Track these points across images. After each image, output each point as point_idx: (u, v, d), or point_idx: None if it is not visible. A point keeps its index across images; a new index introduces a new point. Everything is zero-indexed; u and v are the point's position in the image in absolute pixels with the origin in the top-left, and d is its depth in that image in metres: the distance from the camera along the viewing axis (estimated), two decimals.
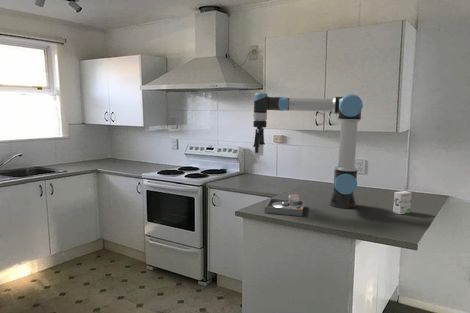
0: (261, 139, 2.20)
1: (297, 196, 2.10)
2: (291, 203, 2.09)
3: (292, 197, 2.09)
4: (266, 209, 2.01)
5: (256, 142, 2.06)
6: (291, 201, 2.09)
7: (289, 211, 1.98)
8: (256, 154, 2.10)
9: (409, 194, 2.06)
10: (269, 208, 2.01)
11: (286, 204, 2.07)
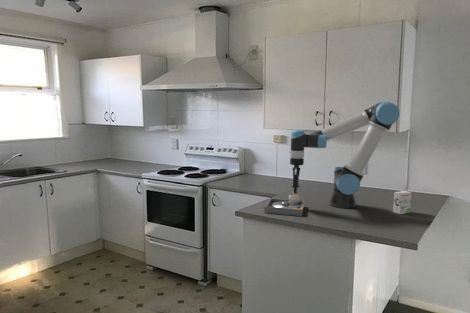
0: None
1: (297, 196, 2.10)
2: (291, 203, 2.09)
3: (292, 197, 2.09)
4: (266, 209, 2.01)
5: (295, 184, 2.08)
6: (291, 201, 2.09)
7: (289, 211, 1.98)
8: (294, 194, 2.12)
9: (409, 194, 2.06)
10: (269, 208, 2.01)
11: (286, 204, 2.07)
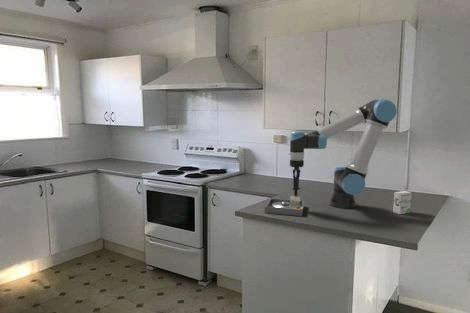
0: None
1: (298, 198, 2.06)
2: (291, 204, 2.07)
3: (292, 198, 2.07)
4: (266, 209, 2.01)
5: (295, 186, 2.04)
6: (291, 202, 2.07)
7: (289, 211, 1.98)
8: None
9: (409, 194, 2.06)
10: (269, 208, 2.01)
11: (284, 204, 2.07)
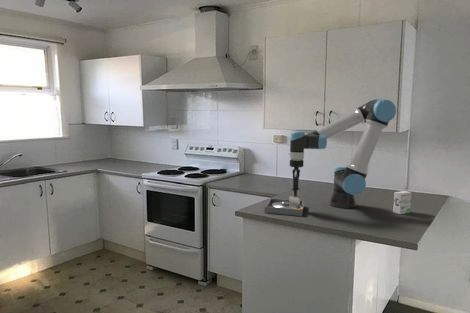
0: None
1: (297, 199, 2.04)
2: (290, 204, 2.06)
3: (291, 198, 2.06)
4: (266, 209, 2.01)
5: (295, 187, 2.03)
6: (290, 202, 2.06)
7: (289, 211, 1.98)
8: None
9: (409, 194, 2.06)
10: (269, 208, 2.01)
11: (283, 204, 2.07)
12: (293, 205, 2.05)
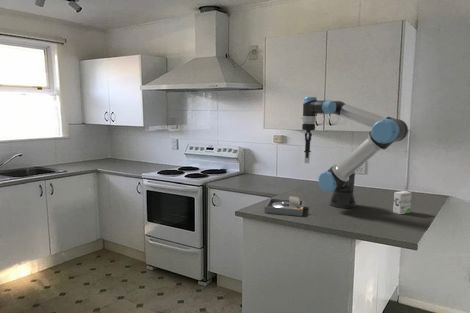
0: None
1: (297, 199, 2.04)
2: (290, 204, 2.06)
3: (291, 198, 2.06)
4: (266, 209, 2.01)
5: (307, 148, 2.17)
6: (290, 202, 2.06)
7: (289, 211, 1.98)
8: (306, 159, 2.21)
9: (409, 194, 2.06)
10: (269, 208, 2.01)
11: (283, 204, 2.07)
12: (293, 205, 2.05)
